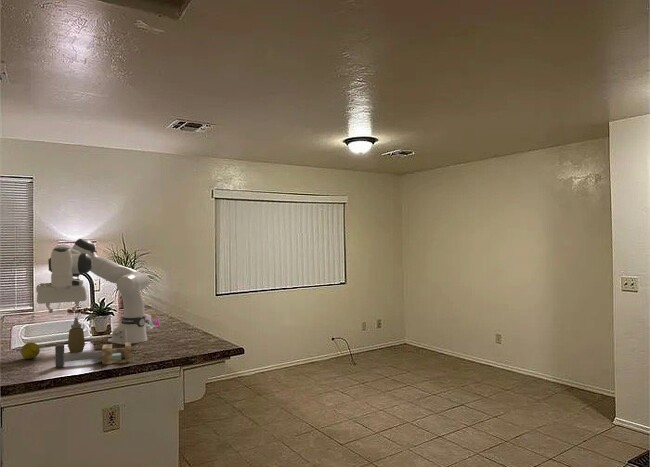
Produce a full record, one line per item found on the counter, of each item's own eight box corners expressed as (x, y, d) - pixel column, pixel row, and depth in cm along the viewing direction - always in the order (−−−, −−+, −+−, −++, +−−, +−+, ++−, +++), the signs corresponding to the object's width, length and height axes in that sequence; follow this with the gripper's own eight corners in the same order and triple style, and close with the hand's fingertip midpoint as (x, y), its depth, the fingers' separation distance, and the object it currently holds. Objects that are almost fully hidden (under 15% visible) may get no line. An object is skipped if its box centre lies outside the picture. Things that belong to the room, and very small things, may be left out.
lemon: (21, 357, 235) (20, 341, 235) (39, 355, 240) (39, 339, 240) (21, 362, 226) (20, 346, 226) (39, 360, 231) (39, 343, 231)
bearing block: (102, 364, 220) (102, 348, 220) (103, 360, 229) (103, 344, 229) (131, 361, 225) (130, 346, 225) (131, 357, 233) (130, 342, 233)
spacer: (112, 363, 224) (111, 355, 224) (112, 360, 228) (112, 353, 228) (121, 362, 225) (121, 355, 225) (121, 359, 230) (121, 352, 230)
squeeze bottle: (87, 349, 250) (87, 316, 250) (80, 353, 242) (80, 318, 242) (72, 350, 250) (72, 316, 250) (64, 354, 242) (64, 319, 242)
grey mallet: (55, 368, 215) (55, 346, 215) (57, 365, 219) (56, 344, 219) (109, 362, 223) (109, 341, 223) (110, 359, 228) (109, 339, 228)
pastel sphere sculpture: (123, 325, 319) (123, 312, 319) (160, 323, 326) (160, 310, 327) (120, 332, 295) (120, 318, 295) (160, 329, 303) (160, 315, 303)
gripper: (34, 284, 211) (35, 314, 211) (85, 281, 219) (86, 311, 219) (37, 282, 217) (37, 312, 217) (86, 280, 225) (87, 309, 225)
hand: (62, 312), depth 218 cm, fingers open, 8 cm apart
